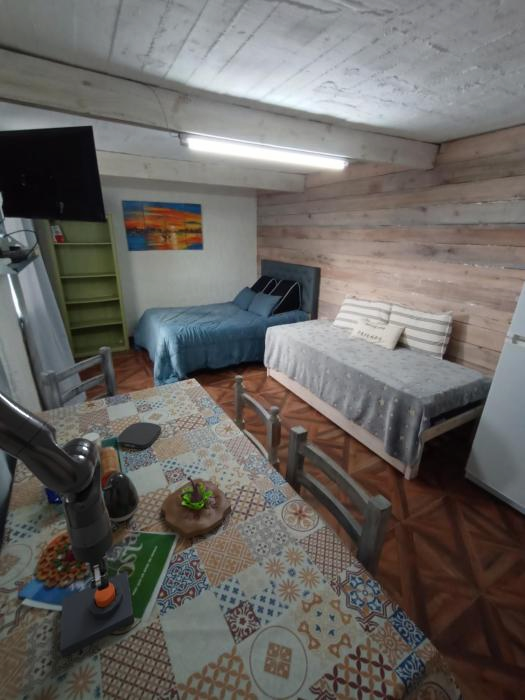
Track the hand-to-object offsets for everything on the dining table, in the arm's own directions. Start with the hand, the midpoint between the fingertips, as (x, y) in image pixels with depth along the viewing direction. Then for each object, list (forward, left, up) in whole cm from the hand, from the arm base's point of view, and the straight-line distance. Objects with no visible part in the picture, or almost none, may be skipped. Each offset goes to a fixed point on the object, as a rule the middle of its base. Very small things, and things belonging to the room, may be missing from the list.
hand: (103, 586), depth 71 cm
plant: (+27, +18, -8) cm, 33 cm away
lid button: (0, 0, -4) cm, 4 cm away
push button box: (-2, 0, -8) cm, 8 cm away
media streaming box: (+17, +65, -8) cm, 68 cm away
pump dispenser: (+6, +27, -8) cm, 29 cm away
